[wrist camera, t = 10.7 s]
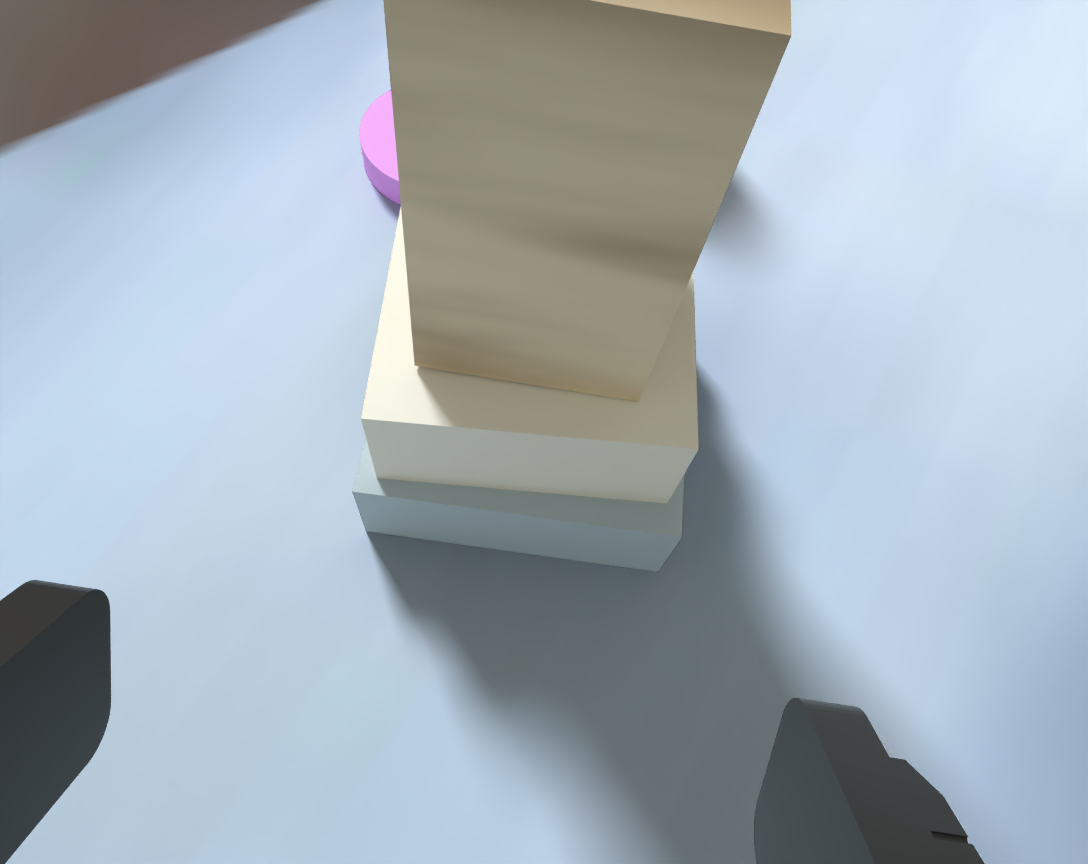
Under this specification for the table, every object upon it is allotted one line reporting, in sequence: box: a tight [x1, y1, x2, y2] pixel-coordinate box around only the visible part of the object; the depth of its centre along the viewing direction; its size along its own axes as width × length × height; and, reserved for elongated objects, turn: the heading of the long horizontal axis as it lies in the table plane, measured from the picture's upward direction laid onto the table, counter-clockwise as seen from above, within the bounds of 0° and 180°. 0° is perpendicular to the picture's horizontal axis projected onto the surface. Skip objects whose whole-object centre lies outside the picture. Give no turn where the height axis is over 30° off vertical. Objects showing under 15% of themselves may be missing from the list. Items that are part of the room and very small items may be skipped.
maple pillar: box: [384, 0, 791, 402], centre depth 16 cm, size 6×6×10 cm
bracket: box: [359, 90, 401, 205], centre depth 30 cm, size 13×6×7 cm, turn 126°
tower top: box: [361, 208, 699, 504], centre depth 22 cm, size 8×8×4 cm
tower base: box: [352, 438, 684, 572], centre depth 25 cm, size 9×9×4 cm
